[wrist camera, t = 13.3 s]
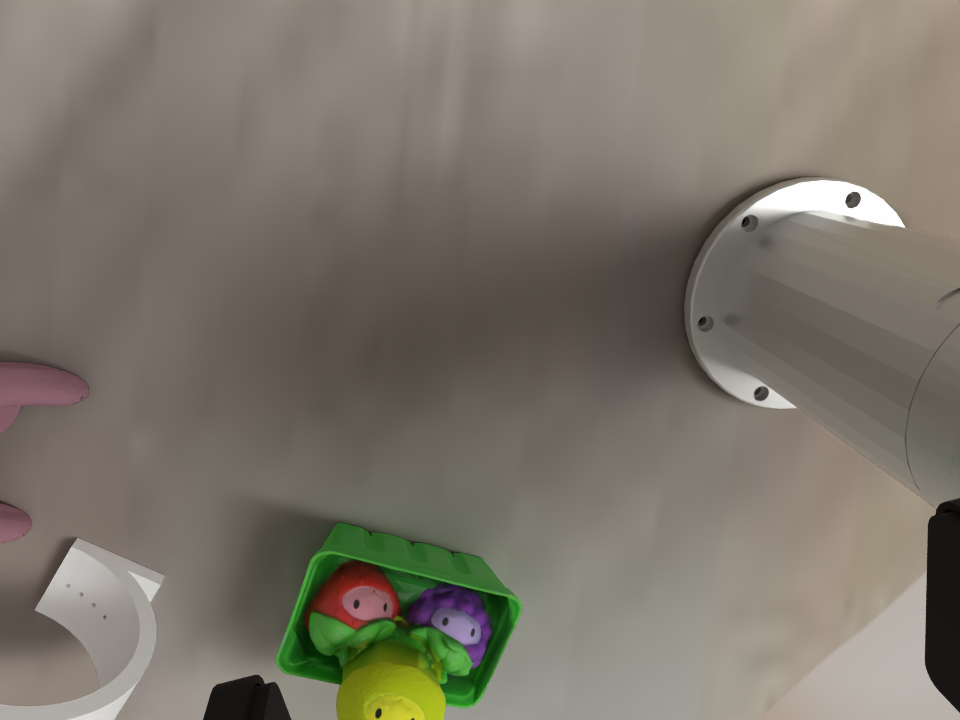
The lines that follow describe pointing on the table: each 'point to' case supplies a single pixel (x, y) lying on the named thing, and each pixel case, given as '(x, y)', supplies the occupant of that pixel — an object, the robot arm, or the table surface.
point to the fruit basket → (397, 626)
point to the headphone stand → (100, 628)
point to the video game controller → (32, 385)
